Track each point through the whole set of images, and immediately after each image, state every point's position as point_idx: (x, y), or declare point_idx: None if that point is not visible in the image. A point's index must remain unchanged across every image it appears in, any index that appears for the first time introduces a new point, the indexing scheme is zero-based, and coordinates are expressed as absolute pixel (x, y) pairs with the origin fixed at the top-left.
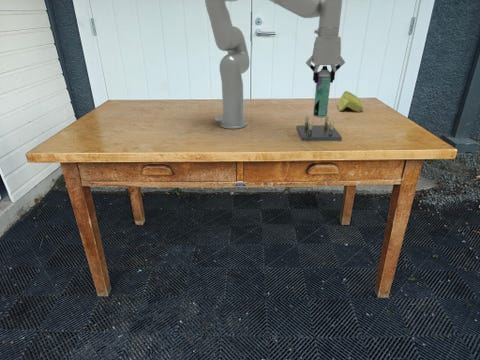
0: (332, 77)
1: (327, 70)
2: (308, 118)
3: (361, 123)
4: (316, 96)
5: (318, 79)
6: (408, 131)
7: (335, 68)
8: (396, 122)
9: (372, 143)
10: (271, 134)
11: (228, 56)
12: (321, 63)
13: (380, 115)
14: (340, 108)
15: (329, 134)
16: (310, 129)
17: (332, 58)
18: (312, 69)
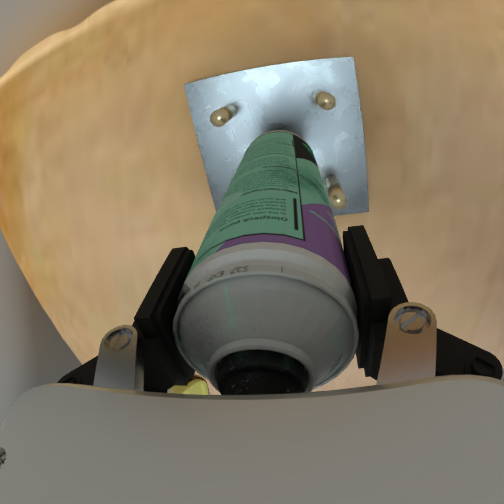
0: (165, 278)
1: (218, 349)
2: (332, 194)
3: (130, 284)
4: (321, 182)
5: (337, 251)
6: (23, 226)
7: (103, 361)
8: (56, 295)
9: (89, 86)
10: (460, 132)
11: None
12: (365, 409)
13: (99, 345)
14: (202, 391)
15: (233, 105)
16: (322, 91)
17: (70, 493)
18: (456, 343)
